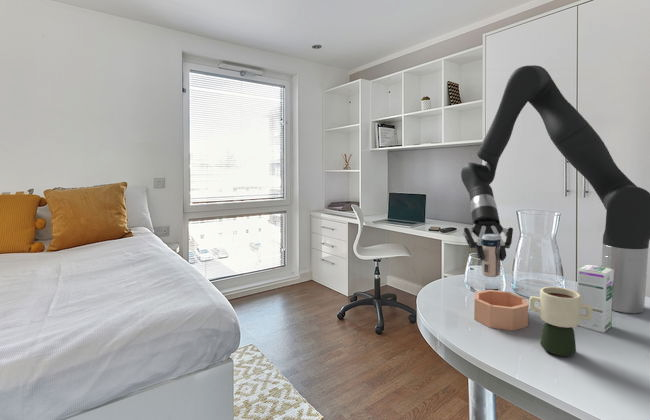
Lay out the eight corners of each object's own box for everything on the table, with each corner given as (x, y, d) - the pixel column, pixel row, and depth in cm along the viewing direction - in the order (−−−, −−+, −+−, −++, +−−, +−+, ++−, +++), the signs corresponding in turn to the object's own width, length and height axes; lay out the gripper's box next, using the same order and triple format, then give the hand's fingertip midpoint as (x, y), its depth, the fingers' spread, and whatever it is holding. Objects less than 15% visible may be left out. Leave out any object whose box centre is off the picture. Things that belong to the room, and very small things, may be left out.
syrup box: (604, 333, 79) (608, 273, 77) (574, 324, 83) (577, 267, 82) (611, 326, 82) (615, 268, 80) (582, 318, 87) (585, 263, 85)
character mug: (587, 349, 72) (591, 291, 71) (591, 366, 66) (595, 302, 65) (528, 337, 78) (530, 283, 77) (527, 351, 72) (529, 293, 71)
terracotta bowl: (498, 306, 96) (498, 287, 95) (537, 324, 84) (538, 302, 84) (464, 314, 91) (464, 294, 91) (501, 333, 80) (502, 311, 80)
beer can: (502, 277, 96) (502, 236, 95) (484, 277, 97) (484, 236, 96) (497, 272, 101) (497, 233, 99) (480, 272, 102) (480, 233, 100)
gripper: (461, 205, 106) (466, 252, 95) (511, 204, 102) (523, 252, 92) (458, 219, 111) (464, 265, 101) (506, 218, 108) (517, 266, 97)
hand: (492, 259), depth 96 cm, fingers closed on beer can, 4 cm apart
